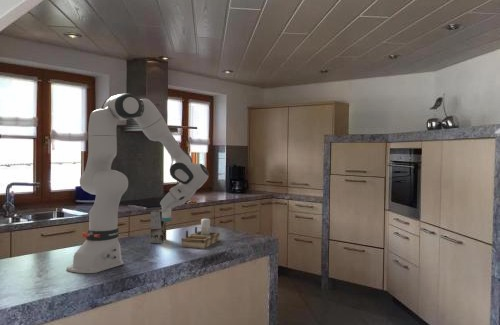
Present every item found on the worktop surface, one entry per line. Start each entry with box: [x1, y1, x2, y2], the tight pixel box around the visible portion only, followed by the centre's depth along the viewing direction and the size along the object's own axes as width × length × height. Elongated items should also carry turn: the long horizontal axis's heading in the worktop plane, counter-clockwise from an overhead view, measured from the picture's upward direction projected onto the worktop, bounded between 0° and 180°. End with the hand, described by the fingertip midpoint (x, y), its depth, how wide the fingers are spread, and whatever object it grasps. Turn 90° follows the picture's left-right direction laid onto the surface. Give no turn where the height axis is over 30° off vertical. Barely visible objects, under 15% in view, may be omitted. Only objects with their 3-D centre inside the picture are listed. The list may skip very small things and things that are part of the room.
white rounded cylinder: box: [161, 206, 172, 222], centre depth 196 cm, size 5×5×9 cm
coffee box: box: [150, 209, 167, 244], centre depth 208 cm, size 9×6×16 cm
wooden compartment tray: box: [181, 226, 221, 250], centre depth 204 cm, size 20×12×7 cm, turn 162°
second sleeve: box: [200, 218, 211, 235], centre depth 208 cm, size 5×5×9 cm
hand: (165, 210), depth 196 cm, fingers closed on white rounded cylinder, 5 cm apart
